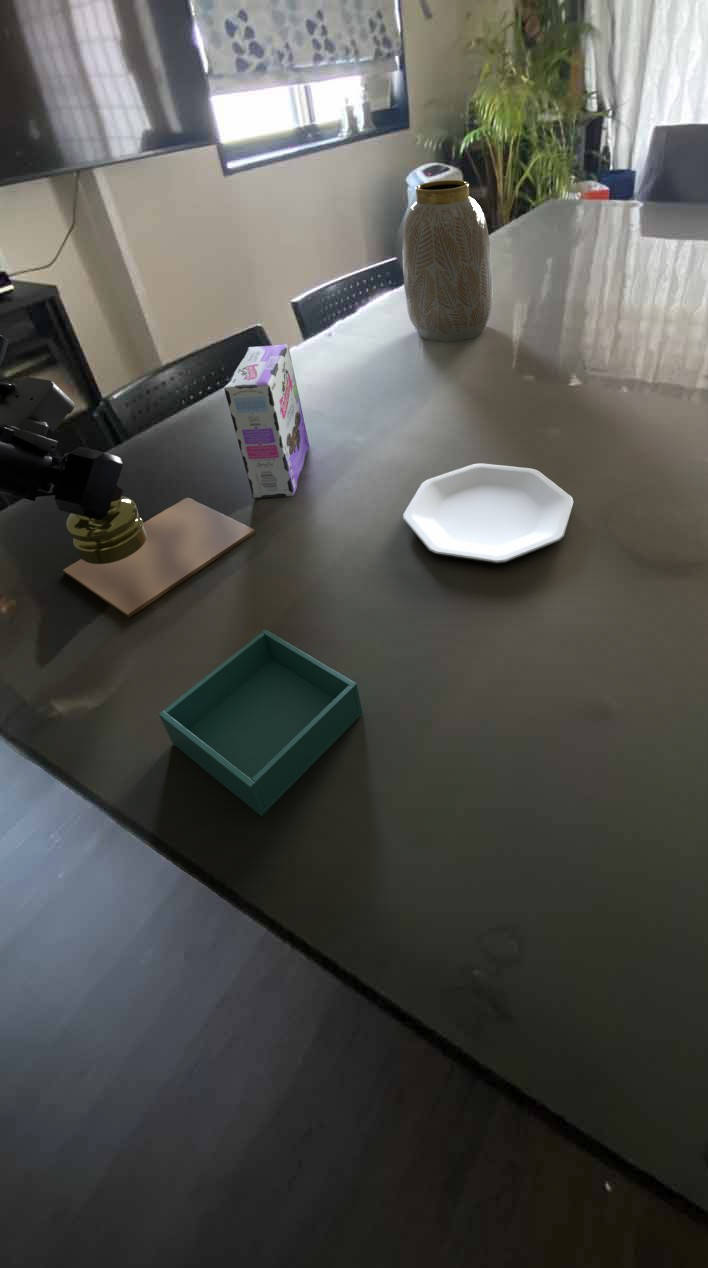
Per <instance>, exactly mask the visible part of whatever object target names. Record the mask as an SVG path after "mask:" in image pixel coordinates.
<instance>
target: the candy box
mask: <svg viewBox="0 0 708 1268" xmlns="http://www.w3.org/2000/svg"><path fill="white" fill-rule="evenodd" d="M224 394H225V398H226V402H227V405H228V409H229V413H230V417H231V421H232V424H233V428H234V432H235V436H236V439H237V443H238V447H239V450H240V454H241V457H242V462H243V465H244V469H245V474H246V477H247V481H248V484H249V488H250V492H251V495H252V498H253V499H255V498H279V497H280V498H281V497H293V496H294V495H295V493H296V490H297V488H298V484H299V482H300V478H301V474H302V471H303V468H304V464H305V462H306V458H307V455H308V452H309V449H310V442H309V438H308V432H307V428H306V422H305V418H304V417H305V416H304V413H303V409H302V404H301V398H300V395H299V394H300V393H299V389H298V384H297V379H296V375H295V371H294V366H293V361H292V356H291V351H290V347H289V344H288V343H286V344H274V345H259V346H249V347H247V351H246V353H245V354H244V356H243V358H242V360H241V361H240V362H239V364H238V365H237V367H236V368H235V370H234V372H233V374H232V376H231V377H230V378H229V381H228V382H227V384H226V385H225V386H224Z"/></svg>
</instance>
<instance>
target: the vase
mask: <svg viewBox="0 0 708 1268" xmlns="http://www.w3.org/2000/svg"><path fill="white" fill-rule="evenodd" d="M415 196H416V200H415V201H414V202H413V203H412V205H411V206H410V208H409V210H408V211H407V213H406V215H405V218H404V222H403V230H402V272H403V287H404V294H405V295H404V298H405V304H406V305H405V306H406V311H407V315H408V317H409V320H410V322H411V324H412V326H413V327H414V329H415V330H416V332H417V334H418V335H419V336H420V337H422V338H423V339H426V340H429V341H435V342H458V341H463V340H467V339H471V338H473V337H476V336H477V335H479V334H481V333H482V332H483V331H484V330H485V328H486V326H487V324H488V322H489V319H490V317H491V315H492V312H493V311H492V310H493V304H494V303H493V301H494V297H493V296H494V281H493V279H494V278H493V262H492V261H493V260H492V250H491V242H490V236H489V229H488V225H487V220H486V216H485V214H484V212H483V209H482V208H481V206H480V205H479V203H478V202H477V201H476V200H475V198H473V197H472V196H470V183H469V181H466V180H462V179H443V180H434V181H429V182H423V183H420V184H419V185H416V186H415Z"/></svg>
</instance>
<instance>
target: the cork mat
mask: <svg viewBox="0 0 708 1268" xmlns="http://www.w3.org/2000/svg"><path fill="white" fill-rule="evenodd" d="M143 525H144V528H145V530H146V533H147V539H146V541H145V543H144V544H143V546H142V547H141V548H140V549H139V550H138V551H136V552H135V553H134V554H132V555H130V556H129V557H127V558H125V559H122V560H120V561H116V562H113V563H108V564H91V563H88V562H85V561H84V560H82V559H81V558H80V559H79V560H77V561H76V562H73V563H72V564H70V565H68V566H67V567H66V568H64V569H63V570H62V572H63V573H64V575H67V577H69V578H71V579H73V580H74V581H75V582H77V583H78V584H79V585H81V586H83V588H85V589H87V590H88V591H90V593H93V594H94V595H96V596H97V597H98V598H99V599H100V600H102V601H104V602H106V603H107V604H108V605H110V606H111V607H112V608H114V609H116V611H119V612H120V613H121V614H123V615H124V616H125V617H127V618H131V617H133V616H134V615H135V614H137V613H138V612H140V611H141V610H143V609H144V608H146V607H147V606H149V605H151V604H152V603H153V602H154V601H156V600H158V599H159V598H161V597H162V596H164V595H165V594H167V593H168V592H169V591H171V590H173V589H174V588H176V587H177V586H179V585H180V584H182V583H183V582H184V581H186V580H188V579H189V578H190V577H193V575H195V574H196V573H198V572H199V571H201V570H202V569H204V568H205V567H207V566H208V565H210V564H212V562H214V561H215V560H217V559H219V558H220V557H221V556H223V555H224V554H226V553H227V552H229V551H230V550H232V549H233V548H235V547H236V546H238V545H239V544H241V543H242V542H244V541H245V540H247V539H248V538H250V537H252V536H253V535H254V534H256V531H255V529H254V528H252V527H250V526H248V525H246V524H244V523H242V522H240V521H237V520H235V519H233V518H231V517H229V516H227V515H225V514H224V513H221V512H219V511H217V510H216V509H213V508H210V507H209V506H207V505H204V504H202V503H200V502H198V501H196V500H194V499H192V498H189V497H188V496H187V497H186V498H183V499H182V500H179V502H177V503H175V504H173V505H171V506H170V507H168V508H166V509H164V510H163V511H160V512H159V513H158V514H156V515H154V516H153V517H151V518H149V519H148V520H146V521H143Z"/></svg>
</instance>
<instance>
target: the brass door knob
mask: <svg viewBox="0 0 708 1268" xmlns="http://www.w3.org/2000/svg"><path fill="white" fill-rule="evenodd" d="M143 523H144V521H143V518H142V517H141V516H140V514H139V507H138V505H137V502H136V501H135V500H133V499H132V498H130V497H128V496H126V495H122V496H121V499H120V500H117V501H113V502H111V505H110V508H109V511H108V514H107V516H106V517H105V518H103V519H102V520H97V519H93V518H88V517H84V516H80V515H76V514H73V513H69V515H68V517H67V518H66V521H65V529H66V531H67V532H68V535H70V537H72V543H73V546H74V547H75V548H76V551H77V553H78V556H79V558H80V560H81V559H82V560H84V561H85V562H88V563H91V564H108V563H113V562H116V561H120V560H122V559H125V558H127V557H129V556H130V555H132V554H134V553H135V552H136V551H138V550H139V549H140V548H141V547H142V546H143V544H144V543H145V541H146V539H147V533H146V530H145V528H144V525H143Z"/></svg>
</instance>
